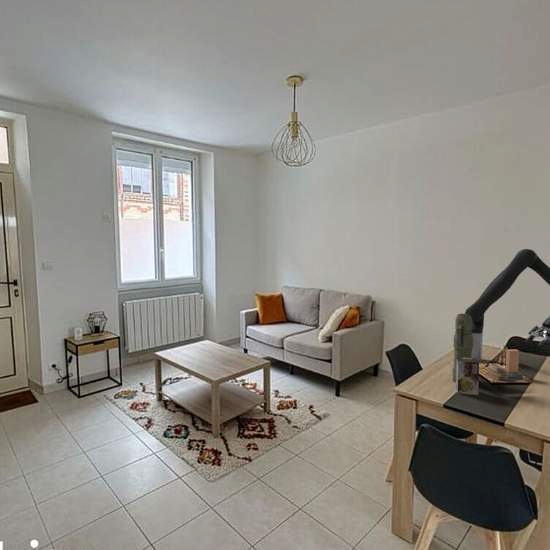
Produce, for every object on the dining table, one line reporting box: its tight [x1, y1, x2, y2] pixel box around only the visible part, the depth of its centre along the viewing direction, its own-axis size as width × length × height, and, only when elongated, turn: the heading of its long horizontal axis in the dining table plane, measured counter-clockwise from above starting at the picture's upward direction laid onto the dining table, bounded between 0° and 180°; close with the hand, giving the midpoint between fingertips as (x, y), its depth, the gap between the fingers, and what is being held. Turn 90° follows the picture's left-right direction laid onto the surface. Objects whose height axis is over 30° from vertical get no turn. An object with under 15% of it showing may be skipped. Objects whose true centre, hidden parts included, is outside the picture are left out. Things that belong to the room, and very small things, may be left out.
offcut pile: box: [486, 362, 509, 381], centre depth 189 cm, size 6×9×6 cm, turn 3°
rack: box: [484, 369, 529, 382], centre depth 190 cm, size 16×11×4 cm
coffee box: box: [455, 357, 480, 396], centre depth 174 cm, size 9×6×16 cm
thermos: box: [452, 313, 473, 383], centre depth 187 cm, size 9×12×35 cm
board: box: [505, 348, 520, 373], centre depth 189 cm, size 5×2×14 cm, turn 93°
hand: (533, 344), depth 189 cm, fingers open, 8 cm apart
